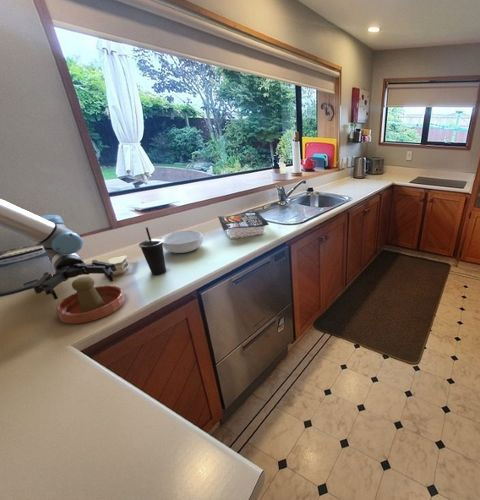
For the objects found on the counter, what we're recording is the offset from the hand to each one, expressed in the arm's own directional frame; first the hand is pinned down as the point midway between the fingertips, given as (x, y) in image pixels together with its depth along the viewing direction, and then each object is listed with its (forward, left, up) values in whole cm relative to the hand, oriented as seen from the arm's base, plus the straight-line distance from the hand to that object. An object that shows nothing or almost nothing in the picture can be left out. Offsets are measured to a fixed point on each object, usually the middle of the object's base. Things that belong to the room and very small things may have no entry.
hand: (84, 286), depth 89 cm
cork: (0, -1, -8) cm, 8 cm away
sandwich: (-3, +26, -9) cm, 27 cm away
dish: (0, 0, -9) cm, 9 cm away
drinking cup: (+12, +22, -9) cm, 27 cm away
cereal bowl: (+16, +44, -9) cm, 48 cm away
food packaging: (+41, +65, -9) cm, 77 cm away
